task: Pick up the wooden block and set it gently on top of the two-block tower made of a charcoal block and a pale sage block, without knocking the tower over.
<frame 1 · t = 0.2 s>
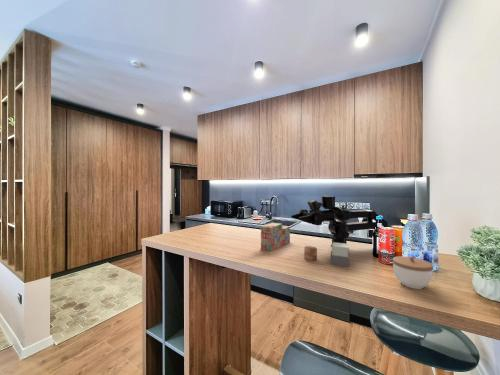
hand: (294, 217, 107), 17 cm above the worktop, tool horizontal, fingers open, 9 cm apart
charcoal base block: (339, 263, 90), on the worktop, touching sage top block
stack of blocks: (276, 246, 116), on the worktop
wooden block: (310, 258, 95), on the worktop
lidded jar: (411, 285, 70), on the worktop
sage top block: (340, 254, 90), point 4 cm above the worktop, touching charcoal base block
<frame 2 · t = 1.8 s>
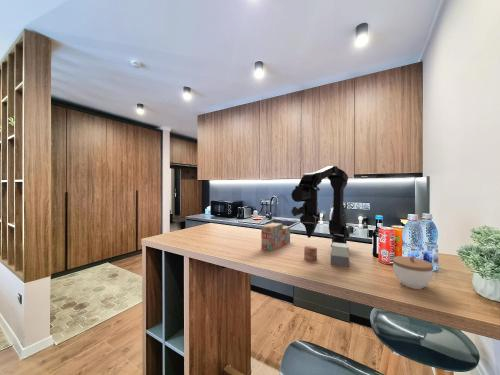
hand: (310, 235, 95), 11 cm above the worktop, tool pointing down, fingers open, 9 cm apart
nothing on the worktop moved.
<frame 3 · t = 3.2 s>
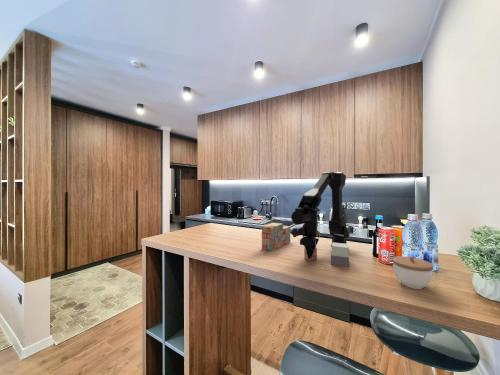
hand: (310, 256, 95), 1 cm above the worktop, tool pointing down, fingers closed on wooden block, 5 cm apart
wooden block: (310, 258, 95), on the worktop, touching gripper
everything else where it was.
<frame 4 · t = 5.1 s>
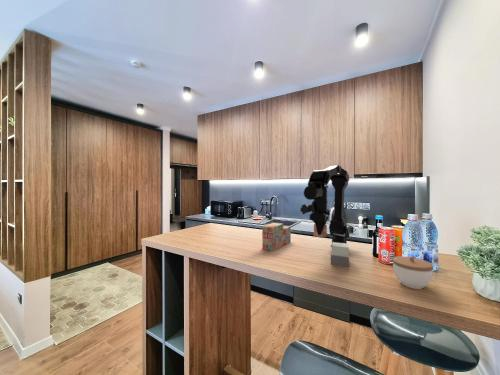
hand: (320, 233, 93), 12 cm above the worktop, tool pointing down, fingers closed on wooden block, 5 cm apart
wooden block: (320, 235, 93), point 11 cm above the worktop, touching gripper
everything else where it was.
when the fingers open (10 cm above the worktop, at t = 6.7 s): wooden block drops 1 cm, point 8 cm above the worktop.
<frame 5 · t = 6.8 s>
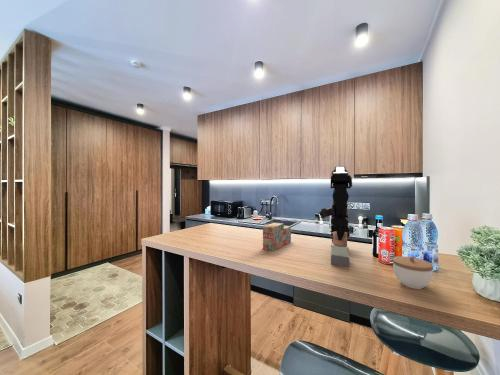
hand: (340, 238, 90), 10 cm above the worktop, tool pointing down, fingers open, 6 cm apart
wooden block: (340, 244, 90), point 8 cm above the worktop
everything else where it was.
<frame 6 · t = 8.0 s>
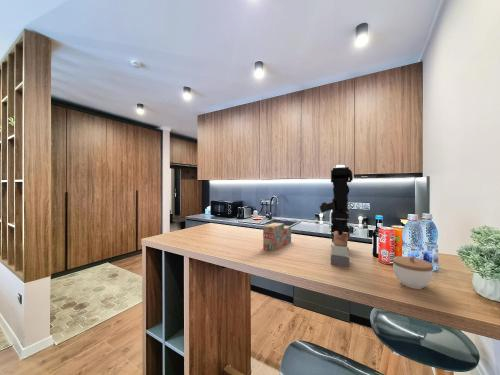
hand: (340, 232, 90), 13 cm above the worktop, tool pointing down, fingers open, 9 cm apart
wooden block: (340, 244, 90), point 8 cm above the worktop, touching sage top block
sage top block: (339, 253, 90), point 4 cm above the worktop, touching charcoal base block, wooden block
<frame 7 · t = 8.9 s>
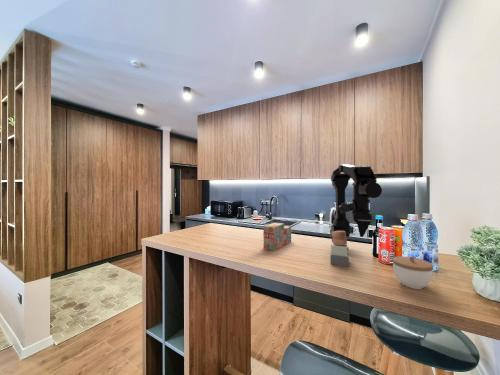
hand: (360, 234, 86), 13 cm above the worktop, tool pointing down, fingers open, 9 cm apart
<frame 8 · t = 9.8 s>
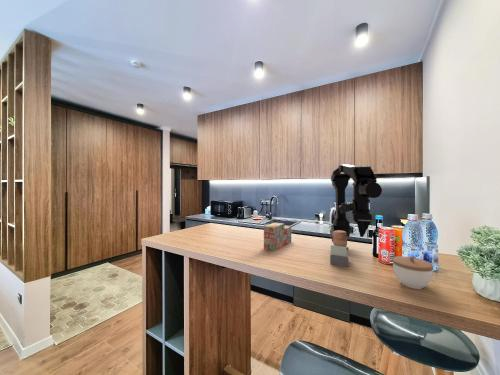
hand: (360, 234, 86), 13 cm above the worktop, tool pointing down, fingers open, 9 cm apart
charcoal base block: (339, 263, 90), on the worktop
sage top block: (338, 253, 90), point 4 cm above the worktop, touching wooden block
at the end: wooden block 0.4 cm off-centre on the sage top block, point 4.9 cm above the sage top block's base; sage top block 0.4 cm off-centre on the charcoal base block, point 4.0 cm above the charcoal base block's base; the gripper is holding nothing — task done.
